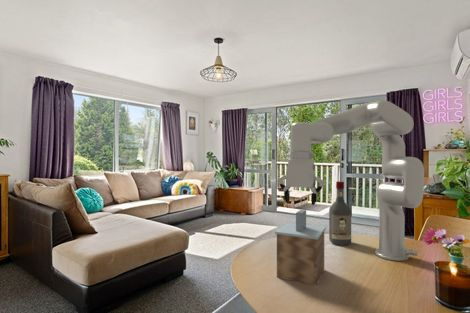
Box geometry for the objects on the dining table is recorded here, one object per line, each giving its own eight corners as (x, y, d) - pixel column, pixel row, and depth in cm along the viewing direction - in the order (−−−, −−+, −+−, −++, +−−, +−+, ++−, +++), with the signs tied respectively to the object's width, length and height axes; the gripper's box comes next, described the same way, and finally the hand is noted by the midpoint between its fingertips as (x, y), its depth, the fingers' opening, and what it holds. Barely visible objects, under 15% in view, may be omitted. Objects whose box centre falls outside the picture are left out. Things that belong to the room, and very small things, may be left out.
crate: (324, 269, 108) (324, 229, 107) (316, 285, 95) (316, 239, 95) (288, 263, 114) (288, 224, 114) (276, 276, 102) (276, 233, 101)
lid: (325, 232, 108) (325, 209, 108) (317, 243, 94) (317, 217, 94) (287, 227, 115) (287, 206, 114) (274, 237, 101) (274, 213, 101)
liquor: (328, 239, 145) (328, 180, 145) (346, 240, 144) (346, 180, 144) (332, 245, 136) (332, 182, 136) (352, 245, 135) (352, 182, 135)
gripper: (327, 156, 103) (326, 203, 104) (281, 156, 111) (280, 199, 111) (323, 156, 97) (322, 206, 97) (274, 156, 105) (274, 202, 105)
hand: (300, 203), depth 104 cm, fingers open, 9 cm apart
